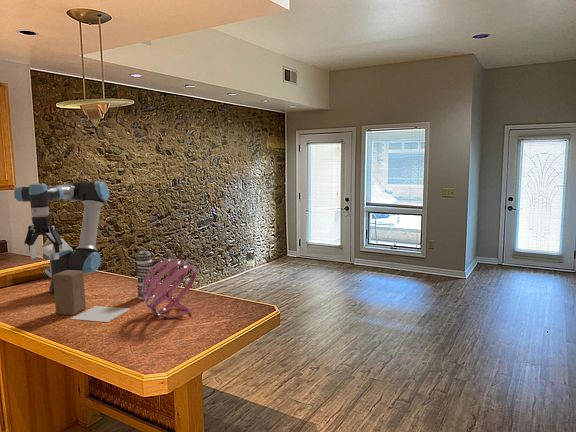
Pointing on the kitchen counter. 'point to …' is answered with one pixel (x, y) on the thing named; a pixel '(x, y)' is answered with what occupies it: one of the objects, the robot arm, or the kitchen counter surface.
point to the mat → (100, 314)
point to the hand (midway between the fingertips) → (45, 258)
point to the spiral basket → (163, 286)
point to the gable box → (48, 250)
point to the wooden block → (69, 292)
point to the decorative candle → (143, 270)
